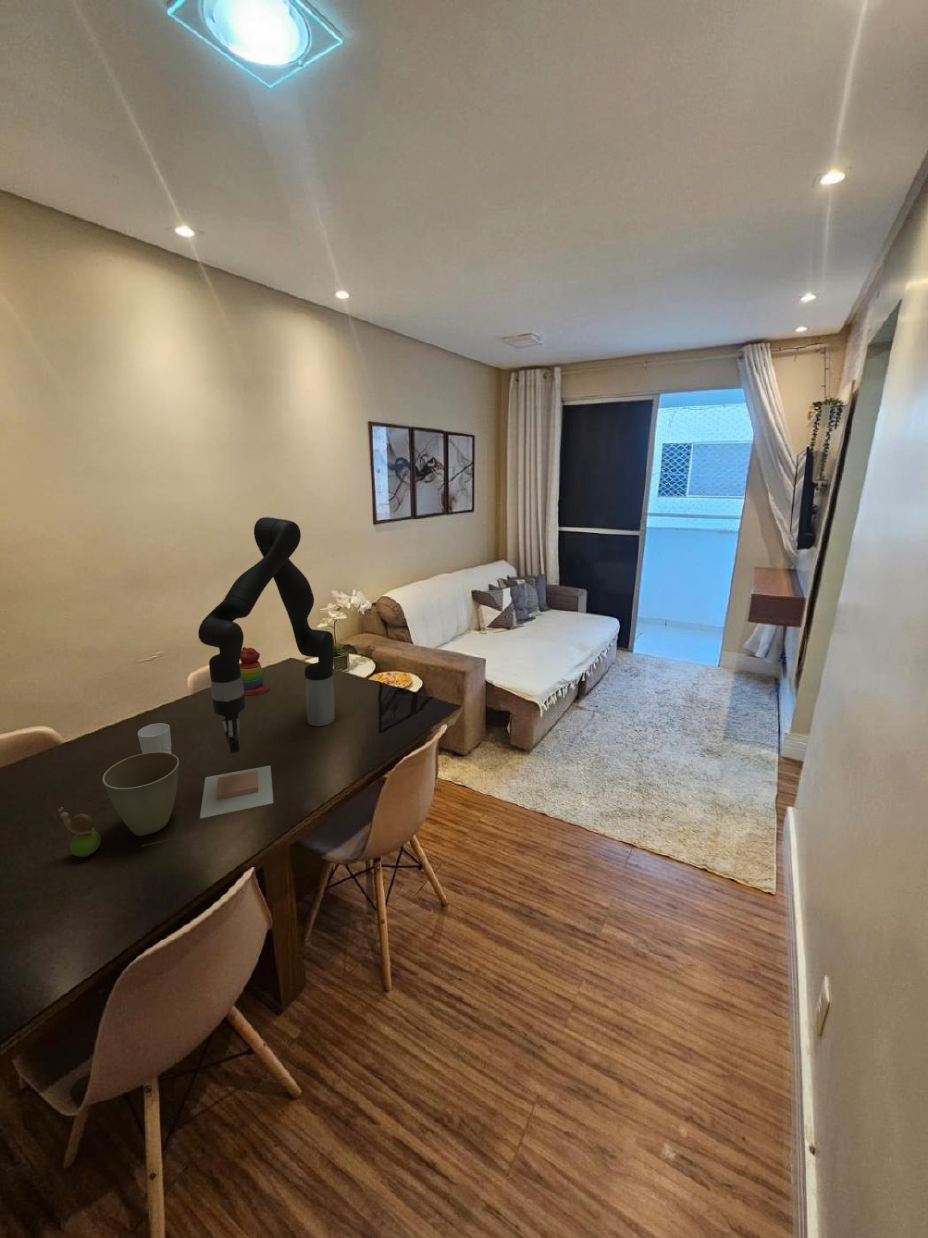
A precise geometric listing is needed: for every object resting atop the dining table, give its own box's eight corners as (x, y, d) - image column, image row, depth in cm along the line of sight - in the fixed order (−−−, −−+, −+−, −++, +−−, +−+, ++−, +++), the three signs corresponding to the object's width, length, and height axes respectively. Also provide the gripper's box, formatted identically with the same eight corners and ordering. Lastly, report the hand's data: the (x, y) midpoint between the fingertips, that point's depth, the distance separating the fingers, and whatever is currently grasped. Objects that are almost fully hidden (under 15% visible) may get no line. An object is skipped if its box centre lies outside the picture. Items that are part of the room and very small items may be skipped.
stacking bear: (271, 691, 189) (268, 649, 184) (245, 698, 182) (241, 655, 177) (259, 682, 196) (255, 641, 191) (234, 689, 189) (229, 647, 184)
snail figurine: (78, 844, 110) (68, 800, 106) (108, 844, 110) (98, 799, 107) (61, 863, 104) (50, 817, 101) (92, 862, 105) (82, 816, 102)
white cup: (179, 756, 144) (175, 727, 141) (154, 770, 137) (149, 739, 135) (162, 750, 147) (158, 720, 145) (136, 762, 141) (131, 732, 138)
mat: (205, 779, 135) (205, 777, 134) (270, 767, 141) (270, 765, 141) (200, 820, 119) (199, 818, 119) (273, 804, 125) (273, 803, 125)
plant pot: (133, 858, 107) (122, 797, 102) (102, 831, 114) (90, 773, 109) (199, 820, 119) (191, 764, 114) (167, 798, 126) (158, 744, 122)
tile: (218, 777, 132) (216, 795, 125) (257, 770, 136) (257, 787, 129) (218, 782, 132) (216, 800, 125) (257, 775, 136) (258, 792, 129)
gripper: (213, 684, 129) (220, 741, 134) (210, 706, 117) (218, 767, 123) (244, 681, 132) (250, 736, 137) (243, 702, 120) (250, 761, 125)
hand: (235, 751), depth 130 cm, fingers closed
